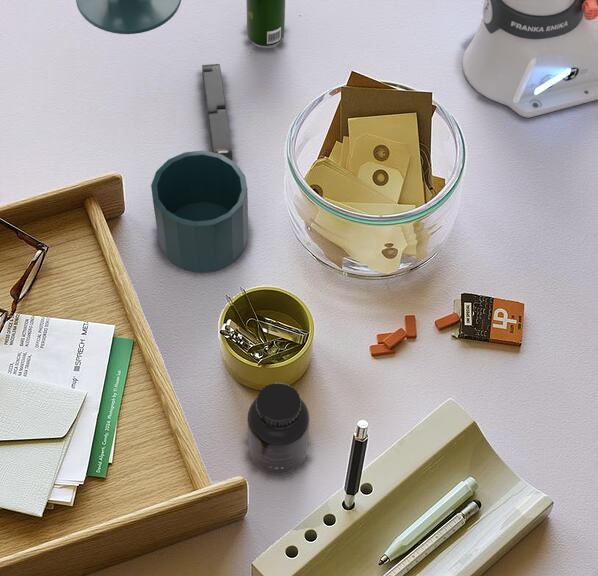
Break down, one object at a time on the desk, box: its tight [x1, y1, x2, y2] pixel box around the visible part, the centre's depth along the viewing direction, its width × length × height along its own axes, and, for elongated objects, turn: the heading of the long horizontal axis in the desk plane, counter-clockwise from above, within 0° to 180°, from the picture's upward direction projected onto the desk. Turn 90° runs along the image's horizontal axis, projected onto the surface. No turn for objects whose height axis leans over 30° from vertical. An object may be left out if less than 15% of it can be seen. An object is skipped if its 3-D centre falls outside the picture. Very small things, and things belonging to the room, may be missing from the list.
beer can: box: [245, 0, 286, 49], centre depth 145 cm, size 5×5×12 cm
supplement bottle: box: [246, 381, 310, 475], centre depth 116 cm, size 7×7×12 cm
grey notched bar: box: [201, 63, 234, 162], centre depth 142 cm, size 18×3×3 cm, turn 8°
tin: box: [150, 150, 249, 273], centre depth 130 cm, size 11×11×10 cm
